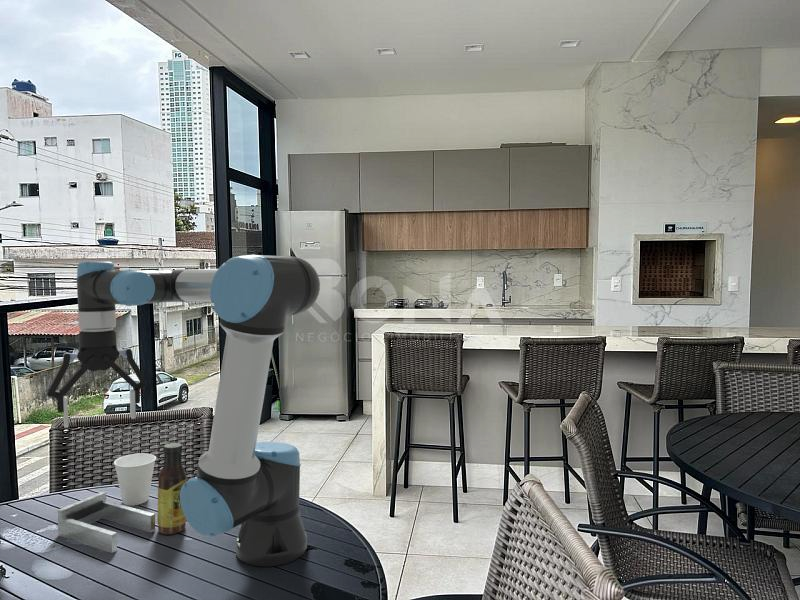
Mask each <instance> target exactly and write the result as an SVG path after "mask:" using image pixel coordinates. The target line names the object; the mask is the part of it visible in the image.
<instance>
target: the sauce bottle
mask: <svg viewBox="0 0 800 600" xmlns="http://www.w3.org/2000/svg"><path fill="white" fill-rule="evenodd" d="M182 452H183V444H182V443H180V442H172V443H171V442H170V443H167V444H164V445H163V453H164V454H163V455H164V456H163V457H164V458H163V459H164V460H163V467H162V468H161V470H160V471H159V474H158V485H157V525H158V527H157V529H158V532H159V533H160V534H162V535H174V534H175V535H176V534H178V533H180V532H182V531H184V529H185V527H186V524H187V523H186V522H187V519H186V517H185V516H184V514H183V511H182V508H181V504H180V492H181V488H182V486H183V484H184V483H185V482H187V481H188V477H187V475H186V471H185V468H184V466H183V461H182Z"/></svg>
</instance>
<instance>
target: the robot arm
mask: <svg viewBox="0 0 800 600" xmlns="http://www.w3.org/2000/svg"><path fill="white" fill-rule="evenodd" d="M76 269H77V270H76V272H77V273H76V278H75V279H76V293H77V295H76V296H77V308H78V309H77V310H78V313H77V315H78V316H77V317H78V329H80V331H79V332H78V346H79V347H78V349H79V350H78V352H77V353H75V352H74V353H72V352H71V353H70V352H67V351H65V352H64V353H63V356H62V363H61V365H60V366H59V368H58V370H57V372H56V374H55V376H54V378H53V380H52V382H51V383H50V385H49V388H48V389H47V393H46V394H47V396H48V397H49V398H51V397H52V398H55V399H56V404H57V405H56V406H57V407H56V409H57V412H58V413H59V414H60V413H62V414H63V427H64V429H67V428H69V407H68V406H69V405H68V401H69V400H68V396H67V395H66V394H68V392H69V391H70V390H71V389H72V387H73V386H75V384H76V383H77V382H78V381H79V379H80V378H81V377H83V375H84V374H85V373H86V372H87V371H90V372H96V371H108V370H109V369H110V368H111V369H112V370H114V371H115V372H116V373H117V374H118V375H119V376H120V377H121V378H122V379H123V381H125V382H126V383H127V384H128V385H130V386H131V387H132V388H131V389H129V410H130V411H129V413H130V415H129V416H130V418H131V419H132V420H135V419H136V417H137V415H136V404H140V402H141V389H144V388H146V387H147V386H148V385H149V382H148V380H147V379H146V377H145V376H144V374H143V373H142V370H141V369H140V368H139V366H138V364H137V362H136V361H135V359H134V355H133V350H132V349H131V348H130V347H126V348H125V349H120V350H119V349H118V345H117V344H118V343H117V331H116V330H115V329H114V328H116V327H117V314H116V313H117V309H116V308H117V307H116V305H123V306H128V307H131V306H132V307H133V306H143V305H145V304H159V303H212V304H213V306H212V308H213V310H214V313H215V314H216V315H217V316H218V317H219V318H220V319H219V326H220V327H221V328H222V329H223V330H224V331H225V333H226V334H225V335H226V337H225V344H224V349H223V357H222V361H221V369H220V376H219V383H218V387H217V394H216V400H215V407H214V414H213V419H212V427H211V432H210V441H209V447H208V450H207V451H205V452H204V453H202V455H200V457H199V459H198V463H197V469H196V474H195V477H190V478H189V479H187V482H185V483H184V484H183V486H182V488H181V492H180V504H181V508H182V511H183V514H184V516H185V517H186V522H188V524H189V526H191V527H192V529H193V530H194V531H196V532H197V533H198V534H200V535H201V536H204V537H209V538H212V537H213V538H214V537H217V536H220V535H222V534H224V533H228V532H230V531H232V529H234V528H236V527H237V526H239V525H241V526H240V529H239V532H238V535H237V537H236V542H235V546H236V547H235V553H236V556H237V559H239V560H240V561H241V562H242V563H244V564H248V565H250V566H255V567H276V566H277V567H278V566H281V565H286V564H288V563H291V562H293V561H295V560H297V559H299V558H300V557H302V556H303V555H304V554H305V553H306V551H307V548H308V536H307V532H306V530H305V527H304V523H303V520H302V516H301V513H300V493H301V492H300V488H301V486H300V482H301V481H300V480H301V479H300V478H301V477H300V476H301V462H300V461H301V458H300V452H299V449H298V448H297V447H296V446H294V445H292V444H290V443H289V444H288V443H286V442H279V441H278V442H277V441H258V434H259V430H260V429H259V428H260V422H261V418H262V411H263V404H264V401H265V394H266V388H267V383H268V376H269V371H270V366H271V364H270V363H271V359H272V353H273V346H274V341H275V340H276V339H277V338H278V337H281V336H282V335H283V334H284V331H285V325H286V319H287V317H288V316H289V317H290V316H291V317H292V316H296V315H299V314H302V313H304V312H306V311H307V310H309V309H310V308H311V307H312V306H313V305H314V304H315V303H316V301H317V299H318V297H319V294H320V289H321V282H320V278H319V274H318V273H317V270H316V269H315V268H314V267H313V265H312V264H311V263H310V262H308V261H307V260H305V259H303V258H300V257H298V256H291V255H289V256H288V255H287V256H285V255H284V256H282V255H263V254H261V255H260V254H259V255H258V254H246V255H239V256H234V257H231V258H229V259H228V260H226V261H225V262H223V264H221V265H220V266H219V267H218V268H207V269H205V268H203V269H202V268H201V269H200V268H199V269H165V270H164V269H162V270H157V269H156V270H154V269H152V270H151V269H150V270H147V269H146V270H141V269H124V270H115V264H114V263H113V262H112V261H80V262H78V264H77V266H76ZM120 356H121V357H122V358H123V359H125V360H127V362H128V364H129V366H130V368H131V370H133V372H134V375H135V376H136V377H137V379H138V380H139V382H137V381H135V380H134V378H132V377H131V376H130V375H129V374H128V373H127V372H125V371H124V370H123V369H122V368H121V367H120V366H119V365H118V364H117V363H116V360H118V358H119V357H120ZM76 359H77V360H78V361H79V362H80V363H81V364H80V365H79V366H78V368H77V370H76V371H74V373H72V375H71V376H70V377H69V378H68V380H67V381H66V382H64V385H62V387H61V388H60V389H59V390H58V388H59V386H60V383H61V381H62V380H63V378H64V377H65V374H66V372H67V370H68V369H69V366H70V364H72V363H73V362H74V361H75V360H76Z"/></svg>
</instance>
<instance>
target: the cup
mask: <svg viewBox="0 0 800 600" xmlns="http://www.w3.org/2000/svg"><path fill="white" fill-rule="evenodd" d="M156 460H157V456H156V455H154V454H152V453H145V452H143V453H131V454H126V455H124V456H123V455H122V456H120V457H117V458H116V459H115V460H114V462H113V465H114V467H115V471H116V477H117V481H118V486H119V491H120V498H121V502H122V503H123V505H125V506H128V507H133V506H134V507H135V505H136V506H139V504H140V505H143V504H145V503H146V502H147V501H148V500H149V498H150V492H151V485H152V478H153V473H154V468H155V463H156V462H155V461H156ZM142 503H143V504H142Z"/></svg>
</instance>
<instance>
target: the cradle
mask: <svg viewBox="0 0 800 600" xmlns="http://www.w3.org/2000/svg"><path fill="white" fill-rule="evenodd" d="M102 519H103V520H105V521H110V522H113V523H117V524H120V525H123V526H125V527H130V528H133V529H137V530H140V531H144V532H147V533H151V534H152V533H154V532H155V531H156V513H154V512H150V511H146V510H143V509H138V508H135V507H133V506H128V505H125V504H121V503H117V502H114V501H109V500H107V492H106V491H101V492H98V493H95V494H93V495H91V496H88V497H86V498H84V499H82V500H78V501H76V502H74V503H72V504H71V503H70V504H68V505H66V506H64V507H61V508H59V509H57V531H58V533H57V535H58V537H61V538H64V539H67V540H70V541H74V542H76V543H79V544H82V545H85V546H89V547H92V548H94V549H98V550H100V551H103V552H106V553H110V554H114V553H115V552H117V551H118V540H117V539H118V536H117V532H116V531H113V530H109V529H106V528H102V527H99V526H96V525H92V524H93V522H94V523H95V522H97V521H100V520H102Z"/></svg>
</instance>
